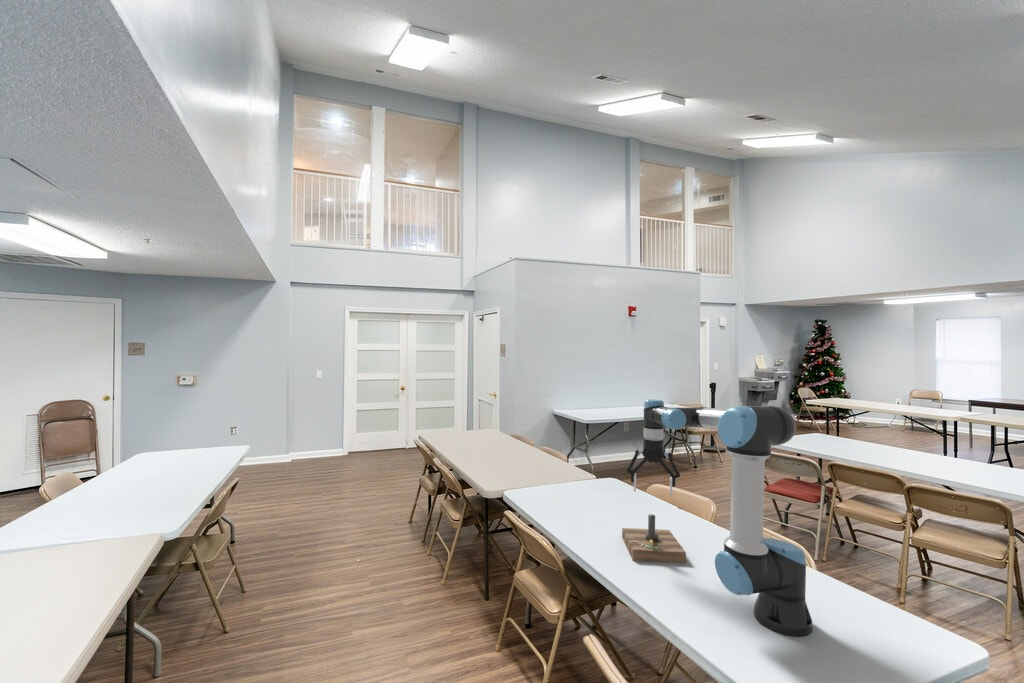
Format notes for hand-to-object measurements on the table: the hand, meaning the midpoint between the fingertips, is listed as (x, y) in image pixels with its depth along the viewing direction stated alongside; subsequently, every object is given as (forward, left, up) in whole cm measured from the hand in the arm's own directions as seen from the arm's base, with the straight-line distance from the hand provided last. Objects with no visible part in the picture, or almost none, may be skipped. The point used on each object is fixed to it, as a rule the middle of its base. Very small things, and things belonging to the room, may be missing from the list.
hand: (652, 492), depth 180 cm
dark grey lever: (+3, -1, -20) cm, 21 cm away
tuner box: (+6, -1, -25) cm, 25 cm away
